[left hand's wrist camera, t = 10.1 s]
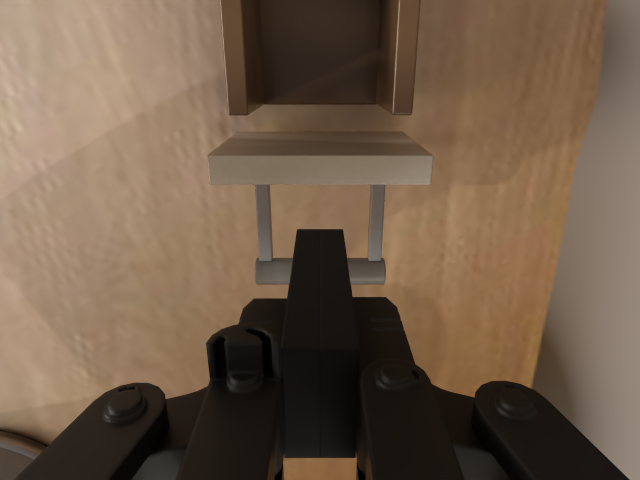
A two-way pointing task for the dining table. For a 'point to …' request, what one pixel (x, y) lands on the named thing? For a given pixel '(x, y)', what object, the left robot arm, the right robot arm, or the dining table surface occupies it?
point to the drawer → (320, 88)
